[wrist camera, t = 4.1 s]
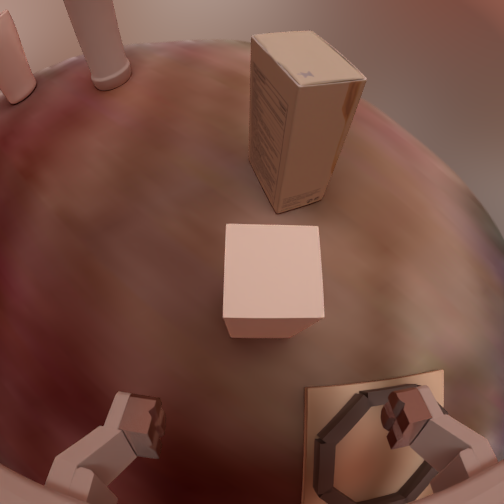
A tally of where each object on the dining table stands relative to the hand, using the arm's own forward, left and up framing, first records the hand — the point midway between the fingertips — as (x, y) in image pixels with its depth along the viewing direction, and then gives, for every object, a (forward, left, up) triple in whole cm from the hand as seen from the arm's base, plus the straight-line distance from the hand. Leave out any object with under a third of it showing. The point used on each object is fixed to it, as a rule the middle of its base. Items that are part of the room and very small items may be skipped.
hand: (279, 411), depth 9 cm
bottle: (-18, +33, -10) cm, 39 cm away
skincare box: (+2, +16, -10) cm, 20 cm away
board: (+8, -5, -10) cm, 14 cm away
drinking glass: (-36, +35, -10) cm, 51 cm away
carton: (0, +5, -10) cm, 12 cm away
